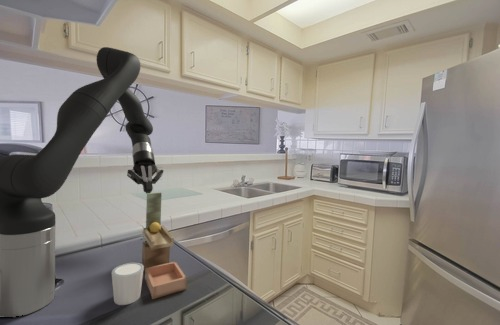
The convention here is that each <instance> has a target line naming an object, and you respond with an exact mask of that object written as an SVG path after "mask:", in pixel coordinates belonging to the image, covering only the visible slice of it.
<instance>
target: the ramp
mask: <svg viewBox="0 0 500 325" xmlns="http://www.w3.org/2000/svg"><path fill="white" fill-rule="evenodd" d="M145 208H146V210H145V212H146V216H145V217H146V218H145V227H143V229H142V231H141V233H142V235H143V237H144V239H145V241H147V243H148V245H149V247H150V248H151V250H153V249H158V248H163V247H169V246H170V247H173V246H174V243H175V237H174V236H173V235H172V234H171V233H170V231H169V230H167V228H166V227H165V226H164V225H161V224H162V223H161V221H162V220H161V218H162V216H161V215H162V192H151V193H146V207H145ZM154 222H157V223H159V224H160V230H159V231H158V232H156V233H153V232H151V231H150V225H151V224H152V223H154Z"/></svg>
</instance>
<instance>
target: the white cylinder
mask: <svg viewBox="0 0 500 325" xmlns="http://www.w3.org/2000/svg"><path fill="white" fill-rule="evenodd" d="M143 278H144V266H143V265H142V263H140V262H127V263H124V264H120V265H118V266H116V267H114V268H113V269H112V270H111V282H112V293H113V301H114V304H116V305H117V306H126V305H130V304H133V303H135V302H136V301H138V300H139V299H140V298H141V295H142V294H141V291H142V287H143V286H142V284H143Z"/></svg>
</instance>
